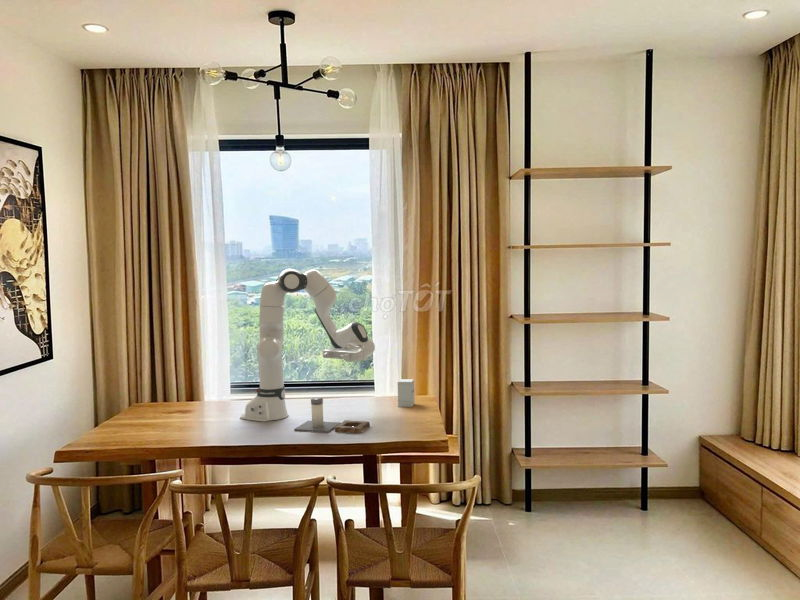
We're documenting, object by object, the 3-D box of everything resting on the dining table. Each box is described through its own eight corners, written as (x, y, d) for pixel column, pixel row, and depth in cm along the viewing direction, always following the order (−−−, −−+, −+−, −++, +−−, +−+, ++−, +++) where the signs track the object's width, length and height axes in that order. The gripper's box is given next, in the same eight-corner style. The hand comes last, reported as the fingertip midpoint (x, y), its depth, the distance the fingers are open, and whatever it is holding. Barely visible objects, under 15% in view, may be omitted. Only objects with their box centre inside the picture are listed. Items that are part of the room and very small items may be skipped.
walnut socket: (334, 431, 272) (334, 427, 272) (345, 424, 283) (344, 420, 283) (360, 433, 268) (360, 428, 268) (369, 426, 279) (369, 421, 279)
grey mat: (294, 430, 275) (294, 428, 275) (308, 422, 288) (308, 420, 288) (328, 432, 270) (328, 431, 270) (340, 424, 284) (340, 422, 284)
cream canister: (309, 426, 278) (308, 400, 277) (314, 423, 282) (313, 397, 282) (320, 427, 276) (319, 400, 275) (325, 424, 281) (324, 397, 280)
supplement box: (412, 407, 312) (411, 381, 311) (397, 406, 313) (397, 381, 312) (415, 403, 319) (414, 378, 318) (400, 403, 321) (400, 378, 320)
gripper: (332, 344, 303) (314, 348, 291) (367, 346, 292) (350, 351, 280) (333, 357, 303) (314, 362, 291) (368, 360, 292) (350, 365, 281)
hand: (332, 356), depth 286 cm, fingers open, 8 cm apart
